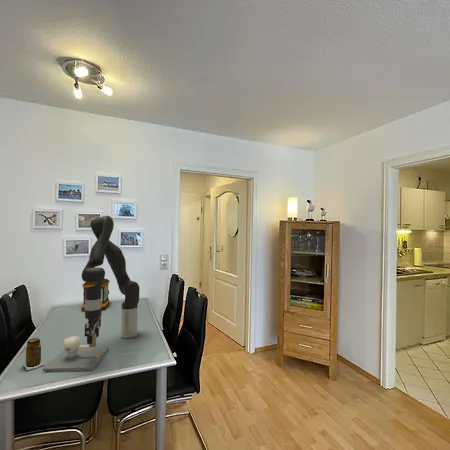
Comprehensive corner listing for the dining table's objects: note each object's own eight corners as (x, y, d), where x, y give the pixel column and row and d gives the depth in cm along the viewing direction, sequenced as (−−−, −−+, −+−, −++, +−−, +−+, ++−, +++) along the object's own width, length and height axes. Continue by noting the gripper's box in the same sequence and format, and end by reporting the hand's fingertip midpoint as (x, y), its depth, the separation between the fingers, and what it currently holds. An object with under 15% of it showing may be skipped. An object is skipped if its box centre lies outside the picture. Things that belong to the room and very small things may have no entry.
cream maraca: (59, 354, 134) (60, 337, 134) (69, 346, 143) (69, 330, 143) (91, 353, 135) (92, 337, 135) (99, 345, 144) (99, 330, 144)
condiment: (39, 360, 139) (40, 336, 139) (44, 366, 133) (45, 340, 133) (22, 365, 133) (22, 340, 134) (26, 371, 128) (26, 345, 128)
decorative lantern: (86, 305, 235) (87, 269, 235) (111, 304, 239) (112, 269, 239) (79, 312, 215) (79, 273, 216) (106, 311, 219) (106, 272, 219)
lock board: (66, 350, 149) (66, 340, 149) (108, 349, 151) (108, 340, 151) (42, 372, 127) (42, 360, 127) (92, 370, 129) (92, 359, 129)
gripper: (91, 303, 147) (91, 334, 147) (79, 312, 132) (78, 346, 132) (106, 303, 147) (105, 334, 147) (95, 311, 133) (95, 346, 133)
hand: (93, 340), depth 140 cm, fingers open, 8 cm apart
